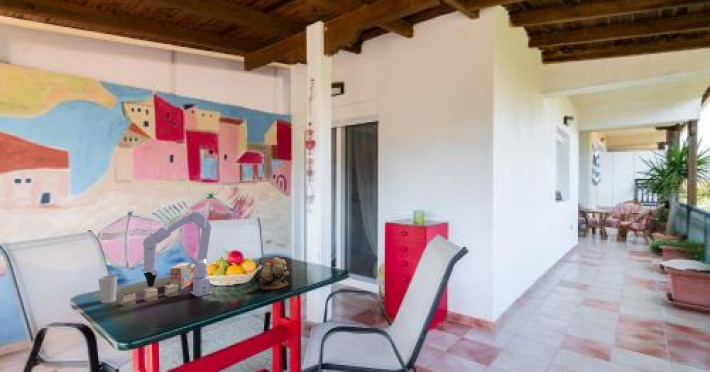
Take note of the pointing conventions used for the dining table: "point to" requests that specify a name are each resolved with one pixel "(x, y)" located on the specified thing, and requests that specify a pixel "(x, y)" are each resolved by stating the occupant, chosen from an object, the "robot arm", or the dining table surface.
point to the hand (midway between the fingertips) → (150, 286)
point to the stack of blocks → (182, 274)
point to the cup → (108, 288)
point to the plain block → (150, 294)
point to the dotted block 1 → (128, 298)
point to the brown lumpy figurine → (274, 275)
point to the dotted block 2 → (171, 290)
